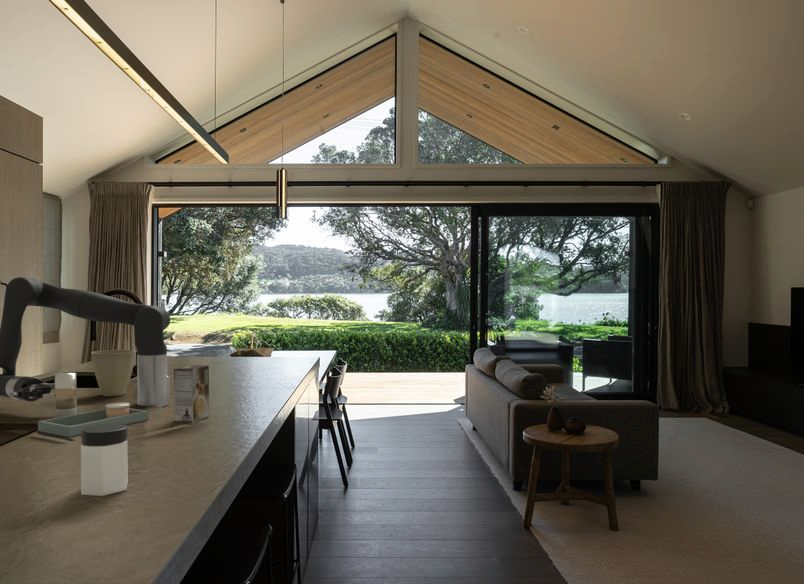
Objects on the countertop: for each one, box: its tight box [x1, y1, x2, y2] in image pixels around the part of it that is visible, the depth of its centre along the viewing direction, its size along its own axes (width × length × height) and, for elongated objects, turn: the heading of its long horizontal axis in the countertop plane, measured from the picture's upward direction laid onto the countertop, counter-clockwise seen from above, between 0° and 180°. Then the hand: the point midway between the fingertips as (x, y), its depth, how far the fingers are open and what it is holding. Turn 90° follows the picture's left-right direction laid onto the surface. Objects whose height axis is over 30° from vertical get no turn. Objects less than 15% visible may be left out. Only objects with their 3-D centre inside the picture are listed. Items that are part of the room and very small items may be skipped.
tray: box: [37, 407, 150, 442], centre depth 174 cm, size 24×14×4 cm, turn 150°
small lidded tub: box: [105, 401, 131, 419], centre depth 180 cm, size 6×6×5 cm
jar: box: [80, 424, 129, 497], centre depth 121 cm, size 9×8×12 cm
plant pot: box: [90, 349, 137, 397], centre depth 229 cm, size 15×15×16 cm
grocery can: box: [54, 371, 78, 418], centre depth 184 cm, size 6×6×14 cm
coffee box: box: [173, 364, 210, 426], centre depth 183 cm, size 9×6×16 cm
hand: (55, 392), depth 186 cm, fingers open, 8 cm apart
